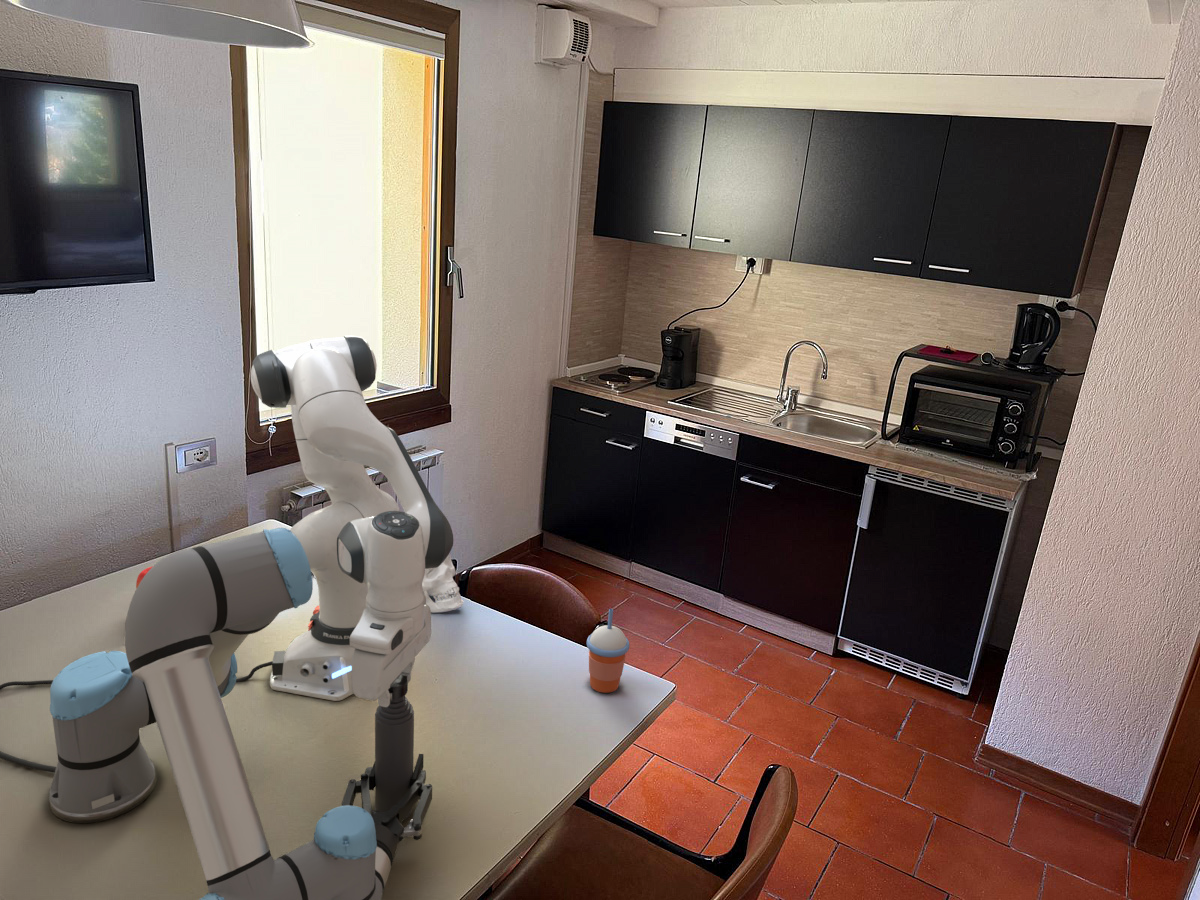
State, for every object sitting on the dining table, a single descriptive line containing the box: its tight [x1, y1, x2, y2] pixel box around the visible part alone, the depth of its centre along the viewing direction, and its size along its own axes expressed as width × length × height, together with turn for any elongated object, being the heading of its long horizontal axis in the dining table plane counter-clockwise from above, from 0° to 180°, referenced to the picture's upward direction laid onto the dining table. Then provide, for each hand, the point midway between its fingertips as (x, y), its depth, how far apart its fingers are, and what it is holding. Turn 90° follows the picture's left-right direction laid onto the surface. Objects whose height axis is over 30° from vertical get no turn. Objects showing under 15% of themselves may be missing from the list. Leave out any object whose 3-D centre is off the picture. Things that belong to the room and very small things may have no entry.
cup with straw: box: [586, 608, 630, 694], centre depth 181 cm, size 9×9×18 cm
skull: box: [422, 553, 465, 614], centre depth 211 cm, size 13×22×16 cm, turn 67°
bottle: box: [374, 695, 415, 821], centre depth 139 cm, size 6×6×24 cm
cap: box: [388, 674, 409, 699], centre depth 136 cm, size 4×4×2 cm
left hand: (401, 759), depth 146 cm, fingers closed on bottle, 6 cm apart
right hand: (394, 693), depth 136 cm, fingers open, 5 cm apart
